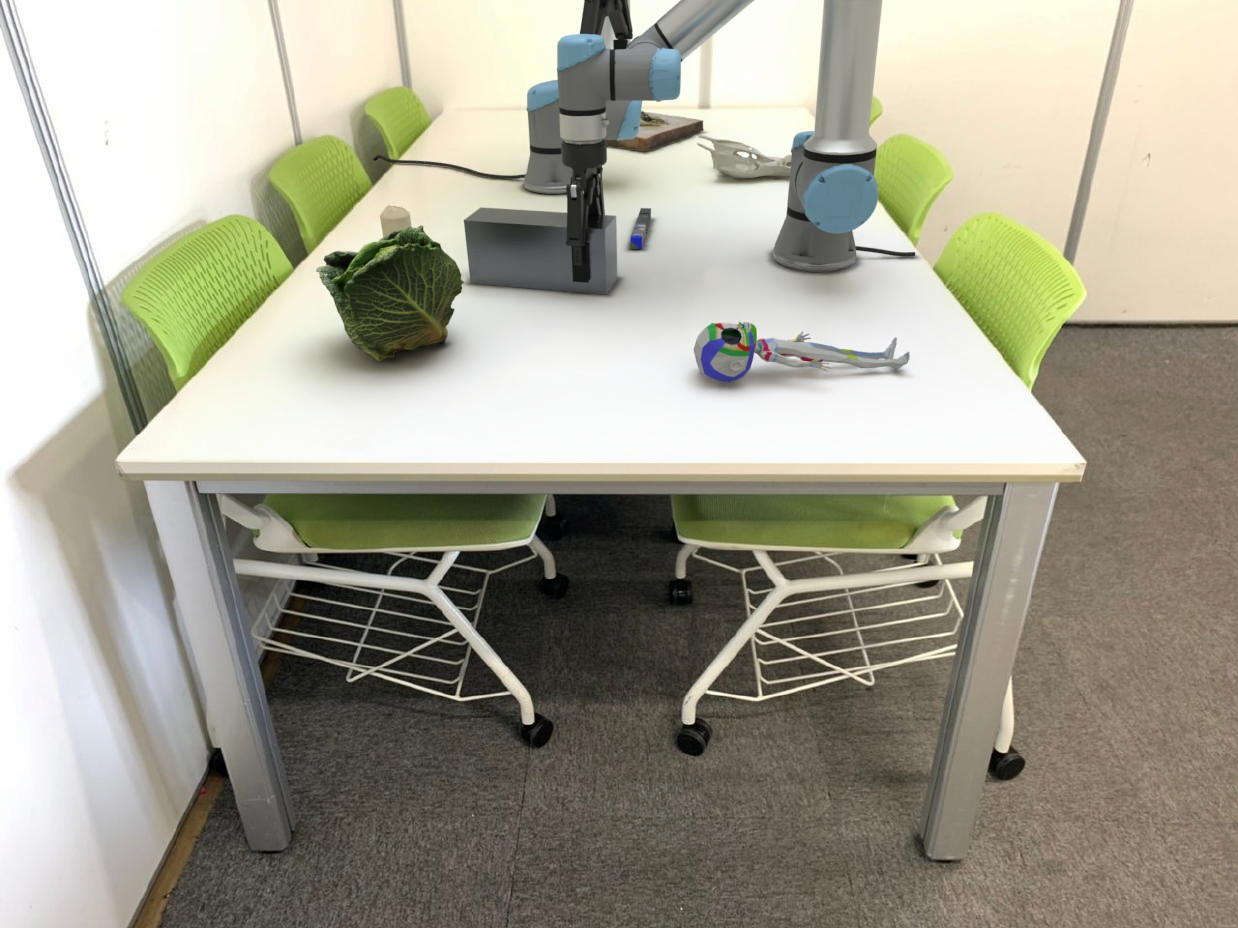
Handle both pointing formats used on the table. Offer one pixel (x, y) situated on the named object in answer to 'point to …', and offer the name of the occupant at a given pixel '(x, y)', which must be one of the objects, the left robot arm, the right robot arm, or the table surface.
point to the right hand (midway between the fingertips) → (588, 272)
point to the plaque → (659, 131)
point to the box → (538, 250)
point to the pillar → (640, 228)
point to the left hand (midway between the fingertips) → (607, 82)
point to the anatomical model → (744, 160)
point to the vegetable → (394, 292)
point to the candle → (394, 219)
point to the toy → (775, 352)
